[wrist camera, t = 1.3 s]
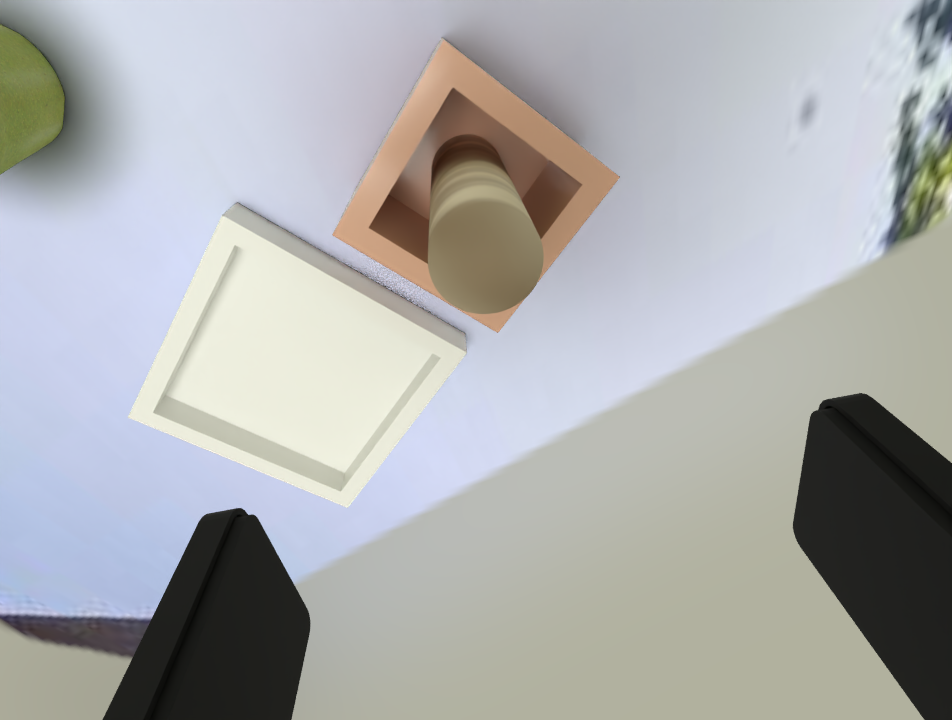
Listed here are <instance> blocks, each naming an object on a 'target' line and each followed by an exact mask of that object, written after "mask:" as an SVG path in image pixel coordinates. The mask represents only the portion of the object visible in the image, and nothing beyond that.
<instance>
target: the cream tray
mask: <svg viewBox="0 0 952 720" xmlns="http://www.w3.org/2000/svg"><path fill="white" fill-rule="evenodd" d="M466 353H467V348H466V338H465V333H463V332H461V331H460V330H458V329H456V328H454V327H453V326H451V325H449V324H448V323H446V322H444V321H442V320H441V319H439V318H437V317H435V316H434V315H432V314H430V313H428V312H427V311H425V310H423V309H421V308H420V307H418V306H416V305H415V304H413V303H411V302H409V301H408V300H406V299H404V298H402V297H401V296H399V295H397V294H395V293H394V292H392V291H390V290H388V289H387V288H385V287H383V286H382V285H380V284H378V283H376V282H375V281H373V280H371V279H369V278H368V277H366V276H364V275H362V274H361V273H359V272H357V271H355V270H354V269H352V268H350V267H349V266H347V265H345V264H343V263H342V262H340V261H338V260H336V259H335V258H333V257H331V256H329V255H328V254H326V253H324V252H322V251H321V250H319V249H317V248H316V247H314V246H312V245H310V244H309V243H307V242H305V241H303V240H302V239H300V238H298V237H296V236H295V235H293V234H291V233H289V232H288V231H286V230H284V229H282V228H281V227H279V226H277V225H276V224H274V223H272V222H270V221H269V220H267V219H265V218H263V217H262V216H260V215H258V214H256V213H255V212H253V211H251V210H249V209H248V208H246V207H244V206H243V205H241V204H239V203H236V204H235V205H233V206H232V207H231V208H230V209H229V210H228V211H226V212H225V213H224V214H223V215H222V217H221V219H220V221H219V223H218V225H217V227H216V230H215V232H214V234H213V236H212V238H211V240H210V242H209V245H208V247H207V249H206V251H205V253H204V255H203V257H202V260H201V262H200V264H199V266H198V268H197V270H196V272H195V275H194V277H193V279H192V281H191V283H190V285H189V287H188V290H187V292H186V294H185V296H184V298H183V300H182V302H181V305H180V307H179V309H178V311H177V313H176V315H175V318H174V320H173V322H172V324H171V326H170V328H169V330H168V333H167V335H166V337H165V339H164V341H163V343H162V345H161V348H160V350H159V352H158V354H157V356H156V358H155V360H154V363H153V365H152V367H151V369H150V371H149V373H148V375H147V378H146V380H145V382H144V384H143V386H142V388H141V390H140V393H139V395H138V397H137V399H136V401H135V403H134V405H133V408H132V410H131V412H130V414H129V416H128V418H130V419H133V420H135V421H138V422H140V423H143V424H145V425H148V426H150V427H152V428H155V429H157V430H160V431H162V432H165V433H167V434H169V435H172V436H174V437H177V438H179V439H182V440H184V441H186V442H189V443H191V444H194V445H196V446H199V447H201V448H203V449H206V450H208V451H211V452H213V453H216V454H218V455H220V456H223V457H225V458H228V459H230V460H233V461H235V462H237V463H240V464H242V465H245V466H247V467H250V468H252V469H255V470H257V471H259V472H262V473H264V474H267V475H269V476H272V477H274V478H276V479H279V480H281V481H284V482H286V483H289V484H291V485H293V486H296V487H298V488H301V489H303V490H306V491H308V492H310V493H313V494H315V495H318V496H320V497H323V498H325V499H327V500H330V501H332V502H335V503H337V504H340V505H342V506H344V507H347V508H348V507H349V506H350V504H351V503H352V502H353V500H354V499H355V498H356V496H357V495H358V494H359V493H360V491H361V490H362V489H363V487H364V486H365V485H366V483H367V482H368V481H369V480H370V478H371V477H372V476H373V474H374V473H375V472H376V470H377V469H378V468H379V467H380V465H381V464H382V463H383V461H384V460H385V459H386V457H387V456H388V455H389V454H390V452H391V451H392V450H393V448H394V447H395V446H396V444H397V443H398V442H399V441H400V439H401V438H402V437H403V435H404V434H405V433H406V431H407V430H408V429H409V428H410V426H411V425H412V424H413V422H414V421H415V420H416V418H417V417H418V416H419V415H420V413H421V412H422V411H423V409H424V408H425V407H426V405H427V404H428V403H429V402H430V400H431V399H432V398H433V396H434V395H435V394H436V392H437V391H438V390H439V388H440V387H441V386H442V385H443V383H444V382H445V381H446V379H447V378H448V377H449V375H450V374H451V373H452V372H453V370H454V369H455V368H456V366H457V365H458V364H459V362H460V361H461V360H462V359H463V357H464V356H465V355H466Z"/></svg>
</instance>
